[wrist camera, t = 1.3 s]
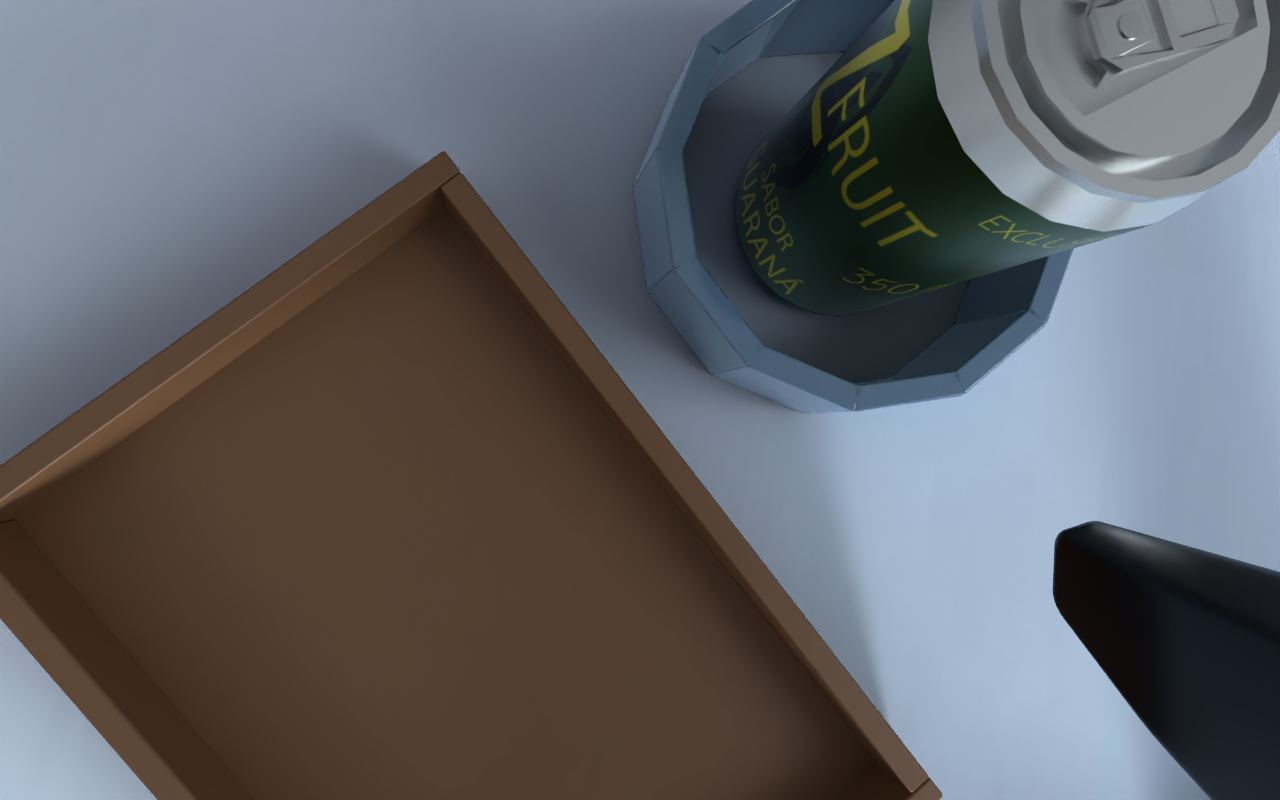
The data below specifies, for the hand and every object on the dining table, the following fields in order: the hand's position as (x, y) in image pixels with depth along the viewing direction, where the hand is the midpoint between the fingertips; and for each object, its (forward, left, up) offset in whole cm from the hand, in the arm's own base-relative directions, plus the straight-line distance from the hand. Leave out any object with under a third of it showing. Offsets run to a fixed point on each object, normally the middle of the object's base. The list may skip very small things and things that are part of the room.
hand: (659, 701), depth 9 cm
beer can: (+2, -11, -14) cm, 18 cm away
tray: (-1, +3, -14) cm, 14 cm away
